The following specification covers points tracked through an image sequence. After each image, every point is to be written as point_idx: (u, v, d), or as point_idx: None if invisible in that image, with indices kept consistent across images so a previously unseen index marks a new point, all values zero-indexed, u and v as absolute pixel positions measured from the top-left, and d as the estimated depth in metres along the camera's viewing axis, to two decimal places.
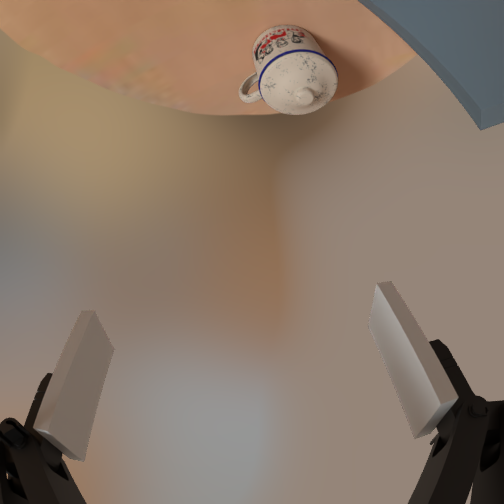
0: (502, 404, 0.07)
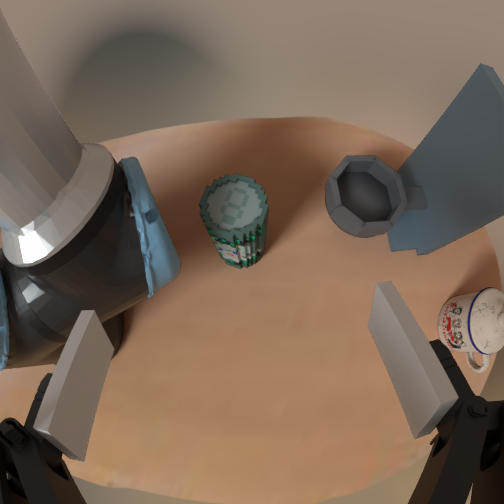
0: (502, 404, 0.07)
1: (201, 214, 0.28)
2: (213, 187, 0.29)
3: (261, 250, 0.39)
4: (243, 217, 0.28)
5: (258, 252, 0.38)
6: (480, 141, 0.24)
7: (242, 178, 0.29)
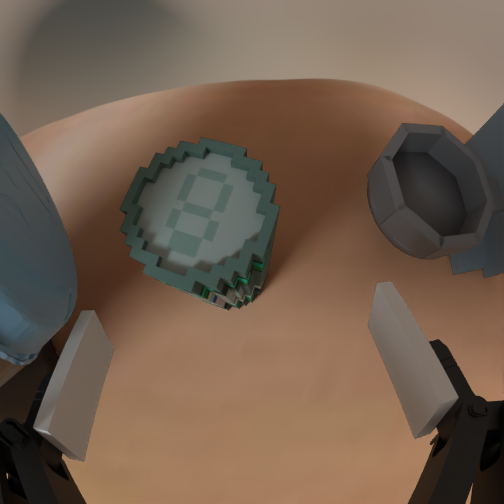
0: (502, 404, 0.07)
1: None
2: (152, 170, 0.12)
3: (262, 284, 0.22)
4: (219, 237, 0.12)
5: (257, 288, 0.22)
6: None
7: (217, 147, 0.12)
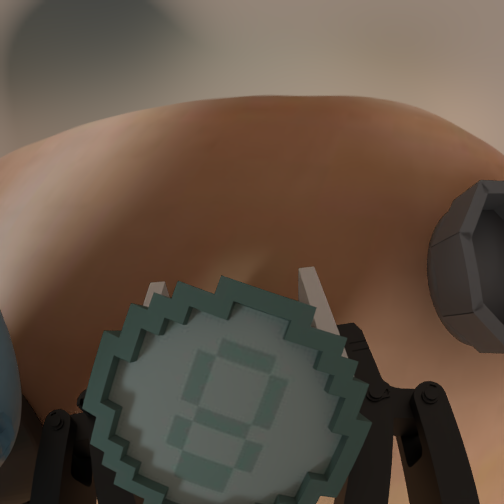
0: (411, 397, 0.08)
1: None
2: (129, 343, 0.06)
3: None
4: (263, 467, 0.06)
5: None
6: None
7: (257, 305, 0.06)
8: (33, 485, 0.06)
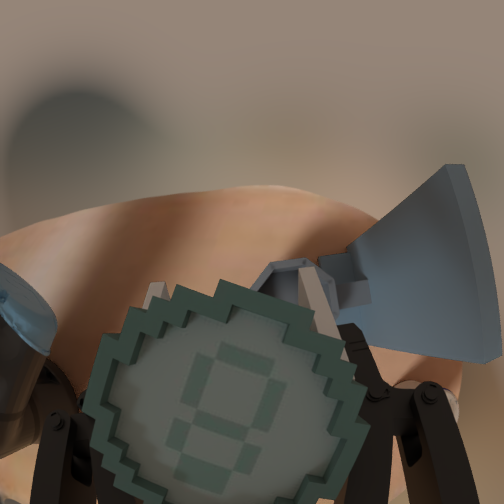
0: (411, 397, 0.08)
1: (98, 446, 0.06)
2: (127, 346, 0.06)
3: None
4: (261, 470, 0.06)
5: None
6: (429, 267, 0.22)
7: (256, 308, 0.06)
8: (33, 485, 0.06)
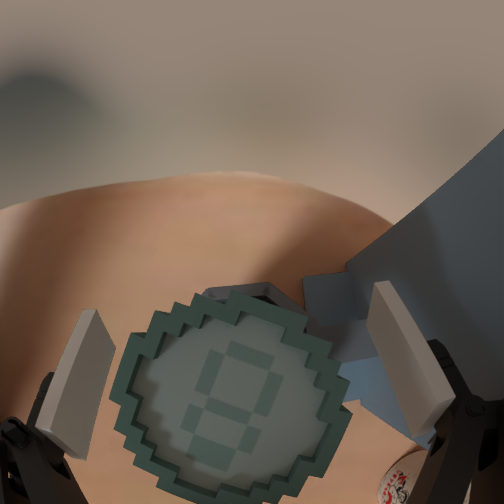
0: (499, 404, 0.07)
1: (121, 429, 0.07)
2: (152, 343, 0.07)
3: None
4: (261, 449, 0.07)
5: None
6: None
7: (260, 313, 0.08)
8: None
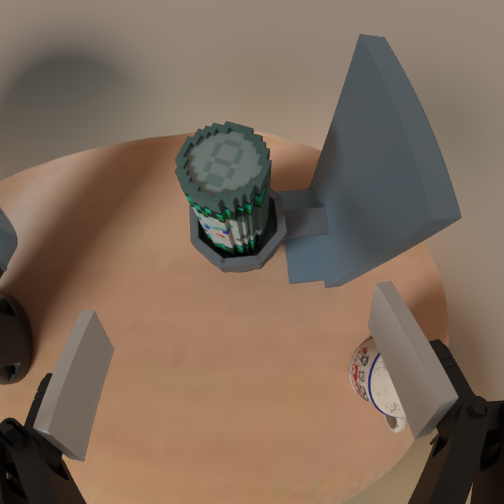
0: (502, 404, 0.07)
1: (177, 173, 0.20)
2: (196, 138, 0.20)
3: (261, 233, 0.30)
4: (235, 177, 0.20)
5: (257, 235, 0.30)
6: (365, 147, 0.21)
7: (236, 127, 0.20)
8: None
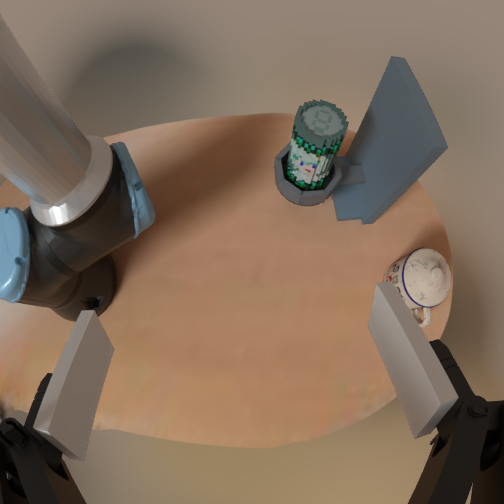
0: (502, 404, 0.07)
1: (297, 124, 0.33)
2: (305, 107, 0.34)
3: None
4: (330, 129, 0.33)
5: (325, 176, 0.43)
6: (394, 119, 0.34)
7: (326, 103, 0.34)
8: None
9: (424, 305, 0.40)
